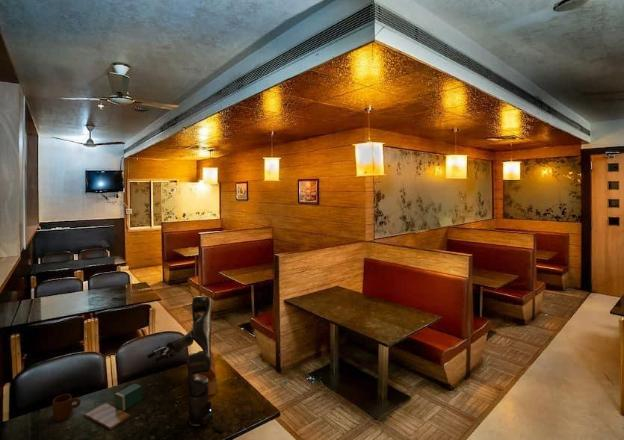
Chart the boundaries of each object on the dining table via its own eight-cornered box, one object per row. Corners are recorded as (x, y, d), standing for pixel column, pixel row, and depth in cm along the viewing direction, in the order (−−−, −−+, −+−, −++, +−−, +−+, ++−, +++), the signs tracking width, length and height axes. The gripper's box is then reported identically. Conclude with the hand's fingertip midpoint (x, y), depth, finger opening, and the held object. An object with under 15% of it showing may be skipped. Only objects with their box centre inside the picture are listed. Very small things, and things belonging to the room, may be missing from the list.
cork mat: (130, 416, 169) (130, 414, 169) (110, 429, 160) (110, 427, 160) (105, 404, 178) (105, 402, 178) (85, 415, 170) (85, 414, 169)
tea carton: (142, 399, 183) (141, 386, 182) (122, 411, 173) (121, 397, 172) (135, 396, 185) (134, 383, 185) (115, 408, 176) (114, 393, 175)
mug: (85, 410, 174) (84, 392, 173) (77, 420, 166) (75, 402, 165) (59, 412, 172) (58, 394, 171) (49, 422, 165) (48, 403, 164)
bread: (193, 374, 208) (192, 350, 206) (214, 370, 212) (214, 347, 210) (192, 398, 184) (191, 371, 183) (217, 394, 188) (216, 368, 187)
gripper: (168, 337, 208) (142, 348, 193) (185, 342, 201) (160, 354, 186) (168, 349, 209) (143, 361, 194) (185, 354, 202) (161, 368, 187)
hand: (152, 358), depth 190 cm, fingers open, 6 cm apart
